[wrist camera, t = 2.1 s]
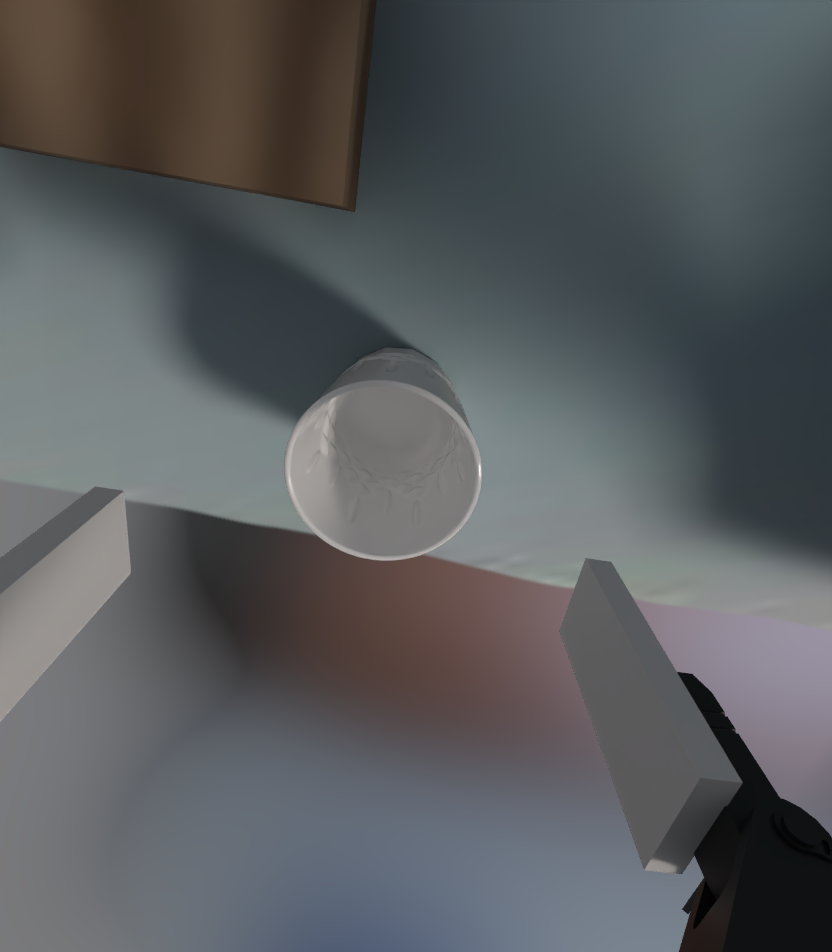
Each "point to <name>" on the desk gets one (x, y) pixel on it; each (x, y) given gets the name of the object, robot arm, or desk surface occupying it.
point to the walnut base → (194, 89)
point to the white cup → (385, 459)
